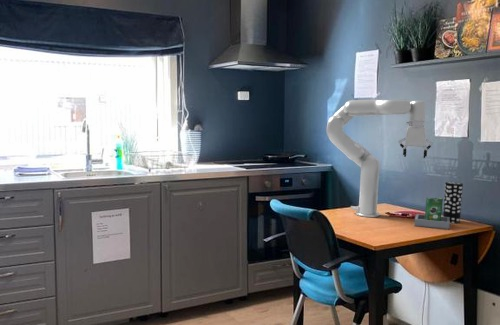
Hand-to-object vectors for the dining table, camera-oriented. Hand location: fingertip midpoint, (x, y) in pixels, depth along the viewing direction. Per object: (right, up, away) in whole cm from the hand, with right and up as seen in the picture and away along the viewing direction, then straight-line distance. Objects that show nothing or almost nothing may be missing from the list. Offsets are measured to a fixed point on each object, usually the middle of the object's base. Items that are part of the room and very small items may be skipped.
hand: (414, 157), depth 265 cm
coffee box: (+5, -34, -13) cm, 36 cm away
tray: (+4, -34, -13) cm, 37 cm away
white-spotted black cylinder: (+18, -34, -2) cm, 38 cm away
